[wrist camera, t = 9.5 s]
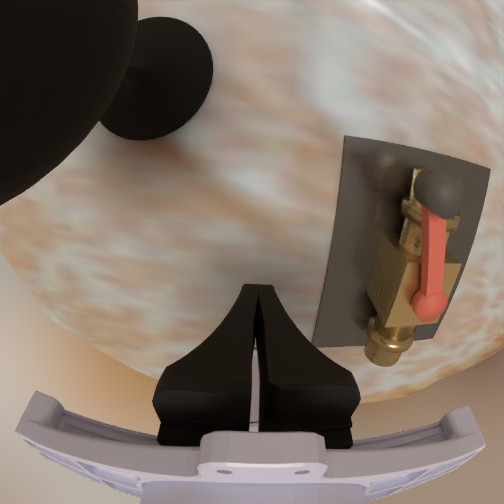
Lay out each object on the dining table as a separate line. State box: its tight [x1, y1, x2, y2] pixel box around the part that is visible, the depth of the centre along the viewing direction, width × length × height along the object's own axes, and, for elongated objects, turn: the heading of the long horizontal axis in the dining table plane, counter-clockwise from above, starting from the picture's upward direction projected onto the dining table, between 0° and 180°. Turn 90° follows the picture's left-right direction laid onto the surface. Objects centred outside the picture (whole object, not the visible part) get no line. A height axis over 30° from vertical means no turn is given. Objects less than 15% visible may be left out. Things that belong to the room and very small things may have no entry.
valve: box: [312, 135, 491, 367], centre depth 21 cm, size 21×16×6 cm
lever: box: [411, 168, 464, 323], centre depth 15 cm, size 12×3×2 cm, turn 17°
